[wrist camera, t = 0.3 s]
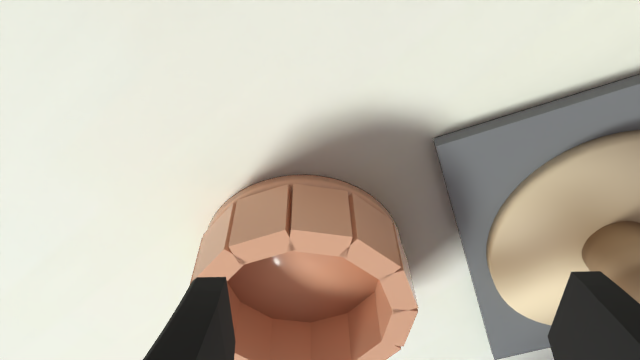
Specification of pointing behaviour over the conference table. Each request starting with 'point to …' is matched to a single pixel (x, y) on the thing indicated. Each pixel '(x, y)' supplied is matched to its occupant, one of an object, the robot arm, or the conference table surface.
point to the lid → (569, 226)
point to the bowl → (310, 271)
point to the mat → (508, 172)
